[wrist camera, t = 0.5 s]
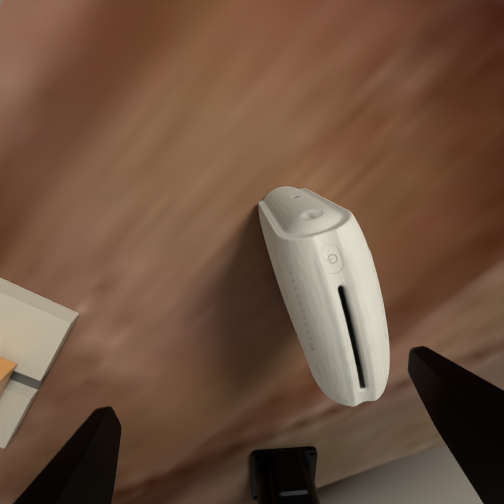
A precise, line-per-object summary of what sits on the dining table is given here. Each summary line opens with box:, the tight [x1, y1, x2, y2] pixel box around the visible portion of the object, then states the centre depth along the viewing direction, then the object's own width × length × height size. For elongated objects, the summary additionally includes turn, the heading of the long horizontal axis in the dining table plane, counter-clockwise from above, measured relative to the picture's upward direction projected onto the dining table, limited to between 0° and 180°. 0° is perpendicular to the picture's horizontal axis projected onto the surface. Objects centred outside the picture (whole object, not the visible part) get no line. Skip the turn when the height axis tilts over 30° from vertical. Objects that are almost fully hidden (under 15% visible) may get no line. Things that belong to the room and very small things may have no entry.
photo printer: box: [258, 186, 390, 406], centre depth 19 cm, size 10×4×12 cm, turn 17°
